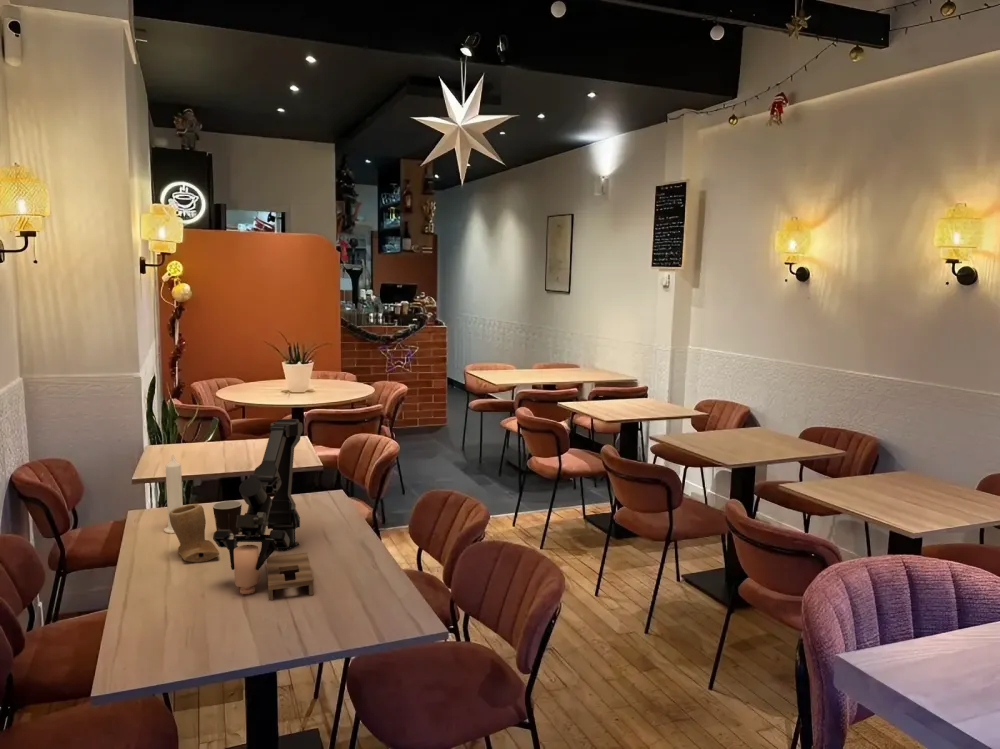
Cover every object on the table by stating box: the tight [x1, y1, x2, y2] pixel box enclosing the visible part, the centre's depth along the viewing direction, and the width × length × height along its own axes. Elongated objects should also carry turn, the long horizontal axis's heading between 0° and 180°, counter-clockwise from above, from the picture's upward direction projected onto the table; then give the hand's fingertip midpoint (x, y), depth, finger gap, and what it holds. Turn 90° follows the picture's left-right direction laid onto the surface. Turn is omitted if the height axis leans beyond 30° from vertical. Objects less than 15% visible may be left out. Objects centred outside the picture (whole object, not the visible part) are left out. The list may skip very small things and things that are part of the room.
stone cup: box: [169, 503, 220, 563], centre depth 209 cm, size 15×12×15 cm
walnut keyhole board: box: [266, 552, 314, 601], centre depth 191 cm, size 20×11×4 cm, turn 19°
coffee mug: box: [212, 500, 242, 534], centre depth 225 cm, size 12×9×10 cm
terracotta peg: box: [233, 544, 260, 595], centre depth 185 cm, size 6×6×12 cm
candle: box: [163, 454, 184, 533], centre depth 229 cm, size 7×7×25 cm
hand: (244, 569), depth 183 cm, fingers closed on terracotta peg, 6 cm apart
